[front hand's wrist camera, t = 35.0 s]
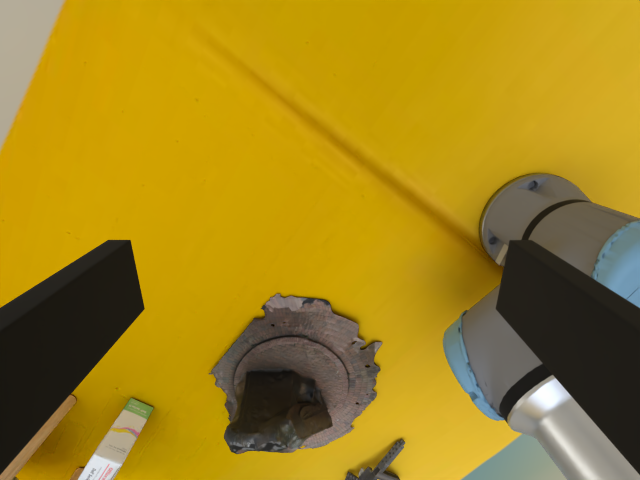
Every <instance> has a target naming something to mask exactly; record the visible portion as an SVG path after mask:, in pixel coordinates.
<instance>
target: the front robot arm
mask: <svg viewBox="0 0 640 480" xmlns="http://www.w3.org/2000/svg"><path fill="white" fill-rule="evenodd" d="M479 235H480V240H481V243H482V246H483V248H484V250H485V251H486V252H487V254H488V255H489V256H490V257H491V258H492V259H494V260H495V262H496V263H497V264H498V265H502V266H504V270H503V275H502V279H501V284H500V285H498V286H497V287H496V288H495V289H493V290H492V291H491V292H490V293H489V294H487V295H486V296H485V297H484V298H483V299H481V300H480V301H479V302H478V303H476V304H475V305H474V306H473V307H472V308H470V309H469V310H466V311H464V312H463V313H462V314H461V315H460V317H459V319H457V320H456V321H455V322H454V323H453V324H452V325H451V326H450V327H449V328H448V329H447V330H446V331H445V333H444V338H443V348H444V352H445V355H446V358H447V361H448V363H449V365H450V367H451V369H452V371H453V373H454V375H455V377H456V378H457V380H458V382H459V383H460V385H461V387H462V388H463V390H464V391H465V392H466V393H468V394H469V395H470V397H471V399H472V401H473V403H474V404H475V405H476V406H477V407H478V409H479V410H480V411H481V412H483V413H484V414H485V415H486V416H487V417H489V418H491V419H493V420H496V421H499V420H505V421H506V422H507V423H508V425H509V426H510V428H511V429H512V430H514V431H516V432H519V433H523V434H526V435H529V436H532V437H534V438H536V439H537V440H538V441H539V443H540V444H541V445H542V447H543V448H544V449H545V451H546V452H547V453H548V455H549V456H550V457H551V459H552V460H553V461H554V463H555V464H556V465H557V467H558V468H559V469H560V471H561V472H562V474H563V475H564V476H565V477H566V479H567V480H640V218H637V217H634V216H631V215H628V214H625V213H622V212H619V211H616V210H613V209H610V208H607V207H604V206H601V205H598V204H595V203H592V202H591V201H590V200H589V199H588V198H587V197H586V195H585V194H584V193H583V192H582V191H581V190H580V189H579V188H578V187H577V186H576V185H574V184H573V183H571V182H570V181H568V180H566V179H564V178H562V177H559V176H556V175H552V174H547V173H533V174H527V175H524V176H521V177H518V178H516V179H514V180H512V181H510V182H508V183H507V184H505V185H504V186H502V187H501V188H500V189H499V190H498V191H497V192H496V193H495V194H494V195H493V196H492V197H491V198H490V200H489V201H488V203H487V204H486V206H485V208H484V210H483V213H482V215H481V219H480V224H479ZM143 310H144V304H143V299H142V294H141V289H140V284H139V279H138V275H137V270H136V265H135V260H134V255H133V250H132V245H131V241H130V240H108V241H106V242H104V243H103V244H101V245H100V246H98V247H96V248H95V249H93V250H92V251H90V252H88V253H87V254H85V255H84V256H82V257H80V258H79V259H77V260H76V261H74V262H73V263H71V264H69V265H68V266H66V267H65V268H63V269H61V270H60V271H58V272H57V273H55V274H53V275H52V276H50V277H49V278H47V279H46V280H44V281H42V282H41V283H39V284H38V285H36V286H34V287H33V288H31V289H30V290H28V291H26V292H25V293H23V294H22V295H20V296H18V297H17V298H15V299H14V300H12V301H11V302H9V303H7V304H6V305H4V306H3V307H1V308H0V475H1V474H2V473H3V471H4V470H5V469H6V468H7V467H8V466H9V465H10V463H11V462H12V461H13V460H14V459H15V458H16V456H17V455H18V454H19V453H20V452H21V451H22V450H23V448H24V447H25V446H26V445H27V444H28V443H29V441H30V440H31V439H32V438H33V437H34V436H35V435H36V433H37V432H38V431H39V430H40V429H41V428H42V426H43V425H44V424H45V423H46V422H47V421H48V420H49V418H50V417H51V416H52V415H53V414H54V413H55V412H56V410H57V409H58V408H59V407H60V406H61V405H62V403H63V402H64V401H65V400H66V399H67V398H68V397H69V395H70V394H71V393H72V392H73V391H74V390H75V388H76V387H77V386H78V385H79V384H80V383H81V382H82V380H83V379H84V378H85V377H86V376H87V375H88V374H89V372H90V371H91V370H92V369H93V368H94V367H95V365H96V364H97V363H98V362H99V361H100V360H101V359H102V357H103V356H104V355H105V354H106V353H107V352H108V350H109V349H110V348H111V347H112V346H113V345H114V344H115V342H116V341H117V340H118V339H119V338H120V337H121V335H122V334H123V333H124V332H125V331H126V330H127V329H128V327H129V326H130V325H131V324H132V323H133V322H134V321H135V319H136V318H137V317H138V316H139V315H140V314H141V312H142V311H143Z"/></svg>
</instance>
